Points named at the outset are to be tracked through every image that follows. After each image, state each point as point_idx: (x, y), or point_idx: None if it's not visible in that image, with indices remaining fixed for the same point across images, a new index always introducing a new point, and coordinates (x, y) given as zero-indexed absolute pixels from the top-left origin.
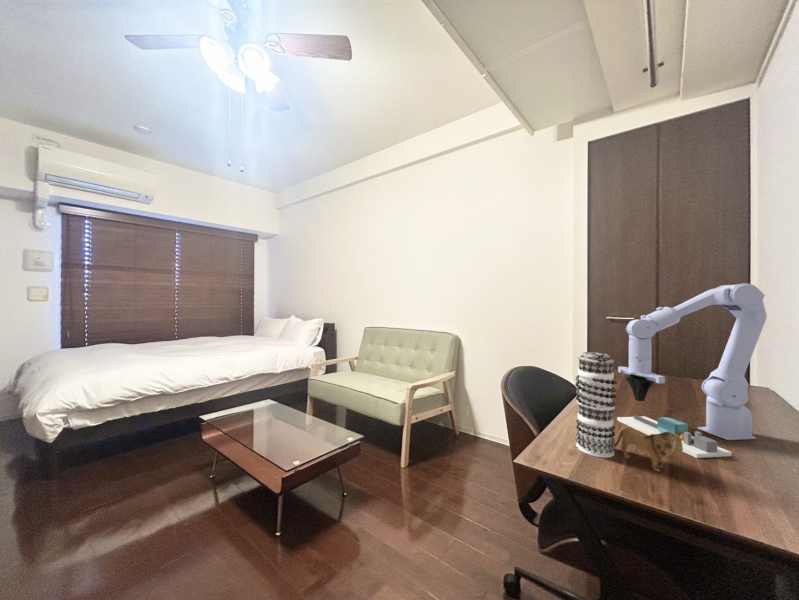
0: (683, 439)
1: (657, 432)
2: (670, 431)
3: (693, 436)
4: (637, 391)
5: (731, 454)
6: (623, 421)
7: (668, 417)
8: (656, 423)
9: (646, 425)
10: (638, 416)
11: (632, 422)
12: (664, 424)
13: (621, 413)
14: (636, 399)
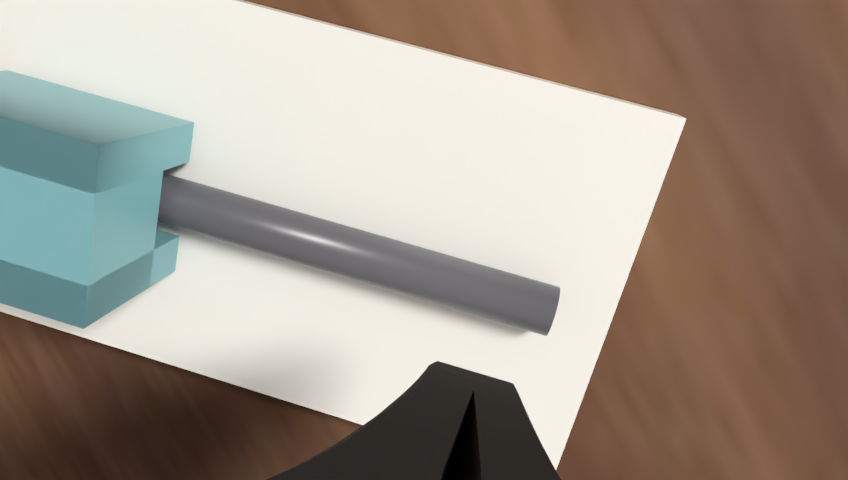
0: None
1: (177, 80)
2: (16, 86)
3: (37, 320)
4: (393, 440)
5: None
6: (575, 89)
7: (77, 295)
8: (361, 364)
9: (354, 189)
10: (497, 300)
11: (479, 127)
12: (45, 110)
13: (800, 426)
14: (480, 377)
